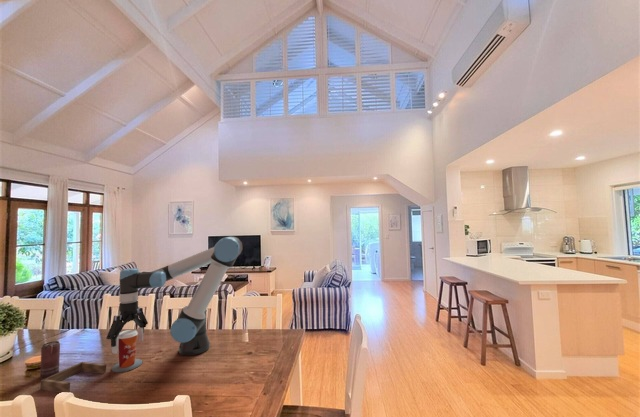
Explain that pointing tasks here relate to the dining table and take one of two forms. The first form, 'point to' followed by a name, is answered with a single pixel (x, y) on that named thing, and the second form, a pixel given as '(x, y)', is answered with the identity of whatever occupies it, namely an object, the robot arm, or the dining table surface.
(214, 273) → the robot arm
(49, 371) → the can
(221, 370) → the dining table surface
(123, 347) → the coffee cup
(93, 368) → the u-shaped wooden bracket
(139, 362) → the coaster
